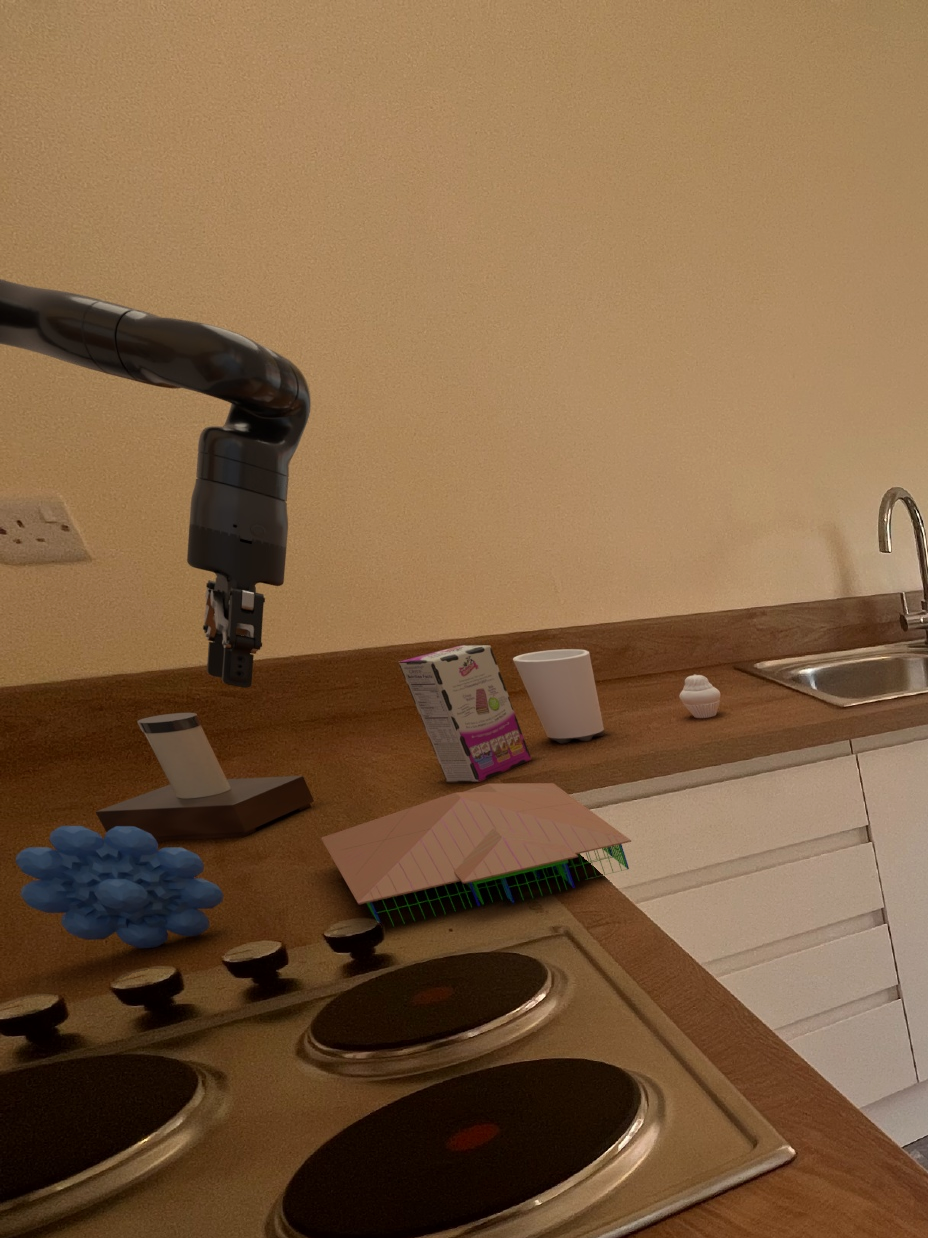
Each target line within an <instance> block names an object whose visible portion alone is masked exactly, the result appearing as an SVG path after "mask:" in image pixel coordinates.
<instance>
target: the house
mask: <svg viewBox="0 0 928 1238" xmlns="http://www.w3.org/2000/svg"><path fill="white" fill-rule="evenodd" d="M320 839H321V841H322V843H323V845H324V846H325V848H326V850H327V851H328V853H329V855H330V857H331V859H332V860H333V862H334V864H335V865H336V867H337V870H338V871H339V872H340V875H341V877H342V878H343V879H344V881H345V883H346V885H347V886H348V888H349V890H350V892H351V894H352V895H353V897H354V899H355V901H356V902H357V905H363V904H366V905H367V907H368V909H369V911H370V912H371V914H372V916H373V917H374V920H375V921H376V922H377V921H379V923H381V924H382V922H381V920H380V917H379V915H378V914H379V913H383V912H386V913H387V915H388V917H389V919H390V921H391V924H392V926H393V927H395V925H394V922H393V920H392V918H391V915H390V913H389V912H390V911H394V910H398V913H399V915H400V918H401V921H402V923H403V924H404V925H405V921H404V918H403V916H402V914H401V912H400V909H401V908H404V907H408V909H409V911H410V912H409V913H410V914H411V916H412V919H413V921H414V922H416V920H415V917H414V914H413V912H412V910H411V908H410V906H414V905H418V906H419V908H420V911H421V914H422V916H423V918H424V919H426V917H425V914H424V911H423V909H422V906H421V903H425V902H426V903H427V902H428V903H429V905H430V908H431V910H432V913H433V915H434V916H436V914H435V911H434V908H433V906H432V904H431V902H433V901H436V900H439V903H440V904H441V907H442V910H443V913H444V915H447V914H446V911H445V908H444V906H443V903H442V901H441V899H442V898H443V899H444V898H447V897H449V900H450V903H451V905H452V907H453V910H454V911H456V908H455V905H454V903H453V901H452V898H451V897H453V896H457V895H459V897H460V900H461V903H462V905H463V908H464V910H466V909H467V908H466V906H465V903H464V901H463V899H462V896H461V894H464V893H465V895H466V897H467V900H468V903H469V905H470V907H471V908H473V906H472V903H471V900H470V898H469V895H468V893H469V892H472V894H473V897H474V900H475V902H476V905H477V907H480V906H481V905H485V903H484V900H483V897H482V895H481V892H480V889H484V888H486V889H487V892H488V894H489V898H490V900H491V903H494V900H493V898H492V895H491V893H490V890H489V888H491V887H494V886H496V888H497V892H498V894H499V896H500V899H501V901H503V896H502V894H501V891H500V889H499V887H498V885H502V887H503V888H502V889H503V891H504V893H505V895H506V897H507V899H508V900H509V901H510V902H511V903H512V904H515V900H514V898H513V894H512V891H511V889H510V888H513V887H516V886H517V888H518V890H519V892H520V896H521V898H522V901H525V899H524V896H523V894H522V891H521V888H520V886H522V885H527V887H528V889H529V893H530V895H531V898H532V899H534V896H533V893H532V891H531V888H530V885H529V883H533V882H536V884H537V886H538V889H539V891H540V895H541V896H543V893H542V890H541V887H540V884H539V881H543V880H545V881H546V883H547V886H548V890H549V892H550V894H551V895H552V893H553V892H552V890H551V887H550V884H549V882H548V879H549V878H555V881H556V884H557V887H558V890H559V891H561V888H560V885H559V882H558V879H557V877H559V876H560V877H561V879H562V882H563V884H564V886H565V889H566V891H568V887H567V885H566V882H567V883H568V884H569V885H570V886H571V887H572V889H576V887H575V884H574V881H573V878H572V876H571V875H572V874H571V872H570V868H573V869H574V872H575V875H576V878H577V881H580V878H579V875H578V872H577V870H576V867H578V866H582V867H583V869H584V873H585V877H586V878H585V879H584V880H590V879H591V877H590V878H589V877H588V874H587V871H586V868H585V866H584V865H586V864H591V866H592V870H593V872H594V877H593V876H592V879H594V878H598V877H602V876H606V875H611V874H614V873H618V872H622V871H628V870H629V869H630V866H629V864H628V861H627V857H626V854H625V851H624V848H623V844H628V843H631V842H632V839H630V838H629V837H627V836H626V835H625V834H623V833H622V832H621V831H620V830H618V829H617V828H615V827H614V826H612V824H610V823H608V822H607V821H605V820H604V819H603V818H601V817H600V816H599V815H598V814H596V813H595V812H593V811H592V810H590V809H589V808H588V807H586V806H585V805H584V804H583V803H581V802H579V800H577V799H576V798H574V797H572V796H571V795H570V794H568V793H567V792H566V791H564V790H563V789H562V788H560V787H559V786H558V785H557V784H555V783H554V782H541V783H539V782H536V783H532V782H530V783H527V782H525V783H523V782H522V783H521V782H520V783H518V782H517V783H514V782H513V783H485V784H483V785H480V786H477V787H473V788H470V789H468V790H464V791H461V792H460V791H457V792H451V793H450V794H446V795H444V796H440V797H437V798H434V799H432V800H428V801H426V802H423V803H420V804H416V805H413V806H411V807H408V808H405V809H402V810H399V811H396V812H393V813H391V814H388V815H384V816H382V817H378V818H376V819H372V820H370V821H366V822H364V823H361V824H357V825H355V826H351V827H349V828H345V829H343V830H339V831H337V832H333V833H330V834H328V835H325V836H321V837H320ZM598 850H602V854H603V856H604V857H600V854H599V851H598ZM590 852H593V853H594V856H595V859H593V860H592V857H591V855H590ZM584 853H585V855H586V858H587V861H584V862H583V859H582V857H581V854H584ZM605 853H606V854H605ZM606 855H607V856H606ZM576 858H578V861H579V863H576V864H575V863H574V861H573V859H576ZM606 859H608V863H609V865H610V868H611V872H610V873H605V870H604V867H603V864H602V861H603V860H606ZM610 859H614V860H615V861H617V862H618V865H619V869H620V870H617V871H614V869H613V866H612V863H611V860H610ZM569 861H570V864H571V865H568V864H569ZM596 862H599V863H600V866H601V868H602V872H603V874H602V875H597V873H596V871H595V867H594V865H593V863H596ZM622 866H623V867H624V868H625V869H623V868H622ZM548 868H551V869H552V873H553V875H552V876H551V875H549V872H548ZM544 869H545V870H546V873H547V876H546V873H545V871H544ZM539 870H542V873H543V875H544V878H541V875H540V872H539ZM555 872H556V873H555ZM525 873H532V874H533V876H534V878H535V880H530V881H528V879H527V877H526V874H525ZM522 874H523V876H524V878H525V881H526V882H524V883H520V884H519V883H518V880H517V878H516V876H518V875H522ZM512 876H514V877H513V878H514V880H515V882H516V884H513V885H509V884H508V881H507V878H509V877H512ZM496 880H500V882H499V883H497V881H496ZM492 881H494V883H495V884H493V885H487V883H488V882H492ZM565 881H566V882H565ZM458 882H459V883H460V882H461V884H462V887H463V889H464V891H459V888H458V886H457V883H458ZM483 883H484V884H485V886H481V887H478V885H479V884H483ZM450 884H454V885H455V888H456V890H457V892H458V893H455V894H450V893H449V891H448V889H447V885H450ZM464 884H465V885H466V886H467V887H468V888H469V890H466V889H465V886H464ZM441 886H444V887H445V890H446V892H447V895H443V896H439V893H438V891H437V887H441ZM432 888H434V890H435V892H436V896H437V898H433V899H429V896H428V894H427V890H428V889H432ZM419 891H420V892H421V891H424V893H425V895H426V898H427V900H423V901H419V900H418V897H417V894H416V893H417V892H419ZM411 893H413V894H414V895H415V896H414V897H415V899H416V901H417V902H415V903H411V904H409V902H408V900H407V898H406V895H407V894H411ZM398 896H403V897H404V900H405V902H406V905H402V906H398V905H397V902H396V900H395V898H396V899H397V897H398ZM390 898H392V899H393V901H394V904H395V906H396V907H394V908H391V909H387V905H386V904H385V902H384V900H385V901H388V899H390ZM380 900H381V901H382V903H383V905H384V909H385V910H380V911H376V908H375V906H374V904H373V902H378V901H380ZM480 903H481V904H480Z"/></svg>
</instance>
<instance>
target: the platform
mask: <svg viewBox="0 0 928 1238" xmlns="http://www.w3.org/2000/svg"><path fill="white" fill-rule="evenodd" d="M226 779H227V781H228V783H229V785H230V787H231V789H230V790H228V791H226V792H224V793H220V794H216V795H212V796H207V797H200V798H190V799H181V798H177V797H176V795H175V793H174V791H173V789H172V787H171V785H170V784H168V785H167V784H166V785H165V786H162V787H159V788H156V789H154V790H151V791H147V792H145V793H143V794H140V795H137V796H135V797H131V798H128V799H127V800H123V801H120V802H118V803H114V804H112V805H110V806H109V805H108V806H107V807H104V808H102V809H98V810H96V811H95V815H96V816H97V818H98V820H99V822H100V823H101V825H102V827H103V830H104V831H105V833H107V832H108V831H109V830H110V829H112V828H114V827H116V826H133V827H137V828H139V829H141V830H144V831H146V832H148V833H150V834H152V836H153V837H154V838H155V839H156V841H157V842H167V841H186V840H187V841H188V840H205V839H206V840H207V839H223V838H225V839H226V838H243V837H246V836H248V835H251V834H254V833H255V832H257V828H259V827H261V826H263V825H266V824H268V823H270V822H272V821H274V820H276V819H278V818H281V817H283V816H285V815H287V814H290V813H292V812H302V811H304V810H305V809H308V808H311V807H312V806H311V804H312V803H314V802H315V800H314V797H313V795H312V793H311V790H310V788H309V786H308V784H307V782H306V780H305V777H304V776H303V775H288V776H287V775H286V776H268V777H266V776H263V777H245V778H226Z"/></svg>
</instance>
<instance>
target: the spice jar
mask: <svg viewBox="0 0 928 1238" xmlns="http://www.w3.org/2000/svg"><path fill="white" fill-rule="evenodd" d="M137 724H138V726H139V728H140V730H141V732H142V733H144V735H145V738H146V740H147V742H148V743H149V746H150V747H151V749H152V751H153V753H154V755H155V757H156V759H157V761H158V763H159V765H160V767H161V769H162V771H163V774H164V776H165V777H166V779H167V781H168V783H169V785H171V787H172V789H173V791H174V793H175V795H176V797H177V798H181V799H190V798H200V797H207V796H212V795H216V794H220V793H224V792H226V791H228V790H230V789H231V787H230V785H229V783H228V781H227V779H228V778H227V776H226V775H225V773H224V771H223V769H222V766H221V764H220V762H219V760H218V758H217V755H216V754H215V752H214V749H213V747H212V745H211V743H210V741H209V739H208V737H207V735H206V732H205V731H204V727H202V722H201V719H200V718H199V715H198V714H197V713H196V712H176V713H165V714H159V715H154V716H148V717H144V718H141V719H139V720H137Z"/></svg>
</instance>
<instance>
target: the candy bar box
mask: <svg viewBox="0 0 928 1238" xmlns="http://www.w3.org/2000/svg"><path fill="white" fill-rule="evenodd" d="M397 663H398V665H399V667H400V671H401V672H402V675H403V677H404V680H405V682H406V685H407V687H408V690H409V692H410V695H411V697H412V700H413V703H414V705H415V707H416V710H417V712H418V715H419V717H420V719H421V722H422V725H423V727H424V730H425V732H426V735H427V736H428V739H429V742H430V744H431V747H432V749H433V752H434V754H435V757H436V759H437V762H438V764H439V767H440V769H441V771H442V774H443V776H444V779H445V781H446V783H482V782H483V781H486V780H489V779H491V778H492V777H496V776H497V775H500V774H502V773H504V772H507V771H509V770H511V769H514V768H516V767H518V766H521V765H523V764H525V763H528V762H530V761H531V760H532V757H531V754H530V751H529V748H528V746H527V743H526V740H525V737H524V735H523V732H522V729H521V726H520V724H519V720H518V718H517V716H516V713H515V710H514V707H513V704H512V702H511V699H510V696H509V693H508V690H507V688H506V685H505V682H504V679H503V677H502V674H501V671H500V668H499V666H498V663H497V660H496V657H495V654H494V651H493V648H492V646H491V645H485V644H482V645H481V644H479V645H477V644H473V645H472V644H470V645H467V644H464V645H457V646H454V647H450V648H446V649H445V648H444V649H441V650H437V651H433V652H431V653H427V654H423V655H419V656H416V657H412V658H408V659H404V660H400V661H398V662H397Z"/></svg>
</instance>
